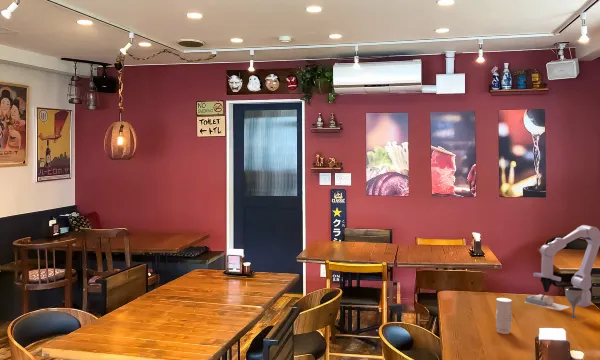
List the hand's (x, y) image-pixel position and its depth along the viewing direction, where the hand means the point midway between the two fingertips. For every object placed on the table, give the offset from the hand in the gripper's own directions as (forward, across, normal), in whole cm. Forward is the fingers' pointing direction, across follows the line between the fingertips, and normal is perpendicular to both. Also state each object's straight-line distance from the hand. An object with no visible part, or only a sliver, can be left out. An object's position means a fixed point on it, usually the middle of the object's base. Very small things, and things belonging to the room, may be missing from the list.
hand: (546, 291), depth 284 cm
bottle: (+5, +2, 0) cm, 5 cm away
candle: (+8, +11, -59) cm, 60 cm away
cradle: (+8, 0, 0) cm, 8 cm away
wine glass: (+8, +20, -11) cm, 24 cm away
